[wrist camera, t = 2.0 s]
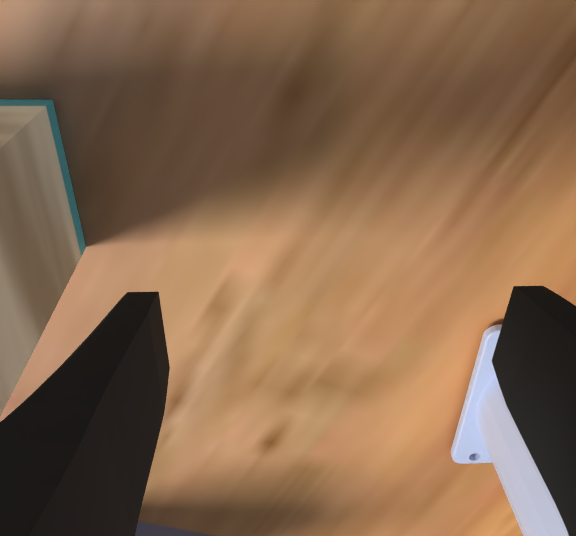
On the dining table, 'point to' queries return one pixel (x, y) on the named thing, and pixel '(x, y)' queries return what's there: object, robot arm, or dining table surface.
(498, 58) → the dining table surface
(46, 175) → the birch block
